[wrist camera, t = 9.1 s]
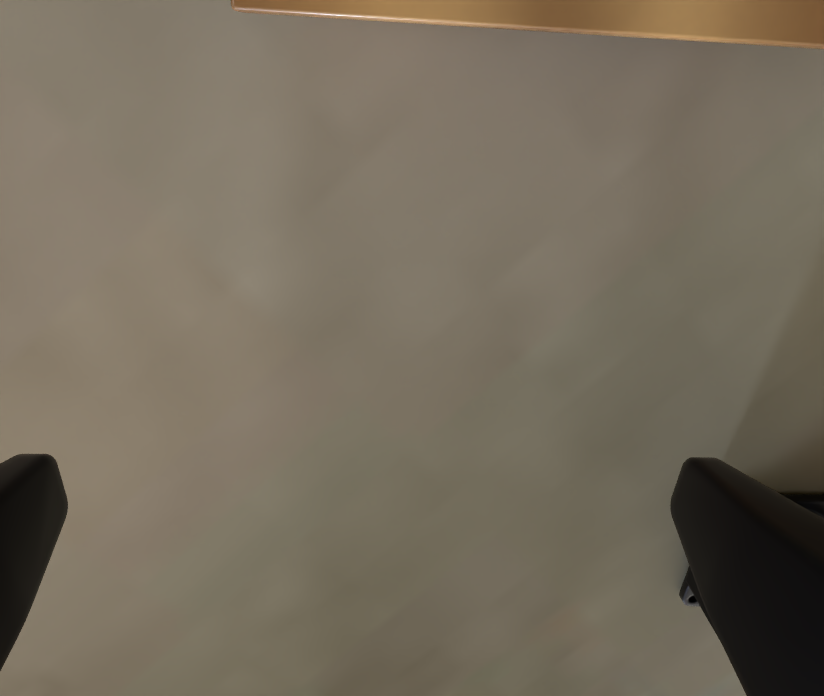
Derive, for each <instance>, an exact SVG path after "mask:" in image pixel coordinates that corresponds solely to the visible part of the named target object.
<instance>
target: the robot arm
mask: <svg viewBox="0 0 824 696" xmlns="http://www.w3.org/2000/svg"><path fill="white" fill-rule="evenodd" d="M67 509H68V501H67V496H66V493H65V489H64V486H63V482H62V479H61V475H60V472H59V468H58V465H57V462H56V460H55V459H54V458H53V457H52V456H51V455H48V454H19V455H16V456H14V457H12V458H10V459H8V460H6V461H4V462H3V463H1V464H0V671H1V669H2V667H3V665H4V663H5V661H6V659H7V657H8V655H9V653H10V651H11V649H12V647H13V645H14V643H15V641H16V639H17V637H18V635H19V633H20V631H21V629H22V627H23V625H24V623H25V621H26V618H27V616H28V614H29V611H30V609H31V606H32V604H33V601H34V599H35V596H36V594H37V591H38V589H39V586H40V583H41V581H42V578H43V576H44V573H45V570H46V568H47V565H48V563H49V560H50V557H51V555H52V552H53V550H54V547H55V544H56V542H57V539H58V537H59V534H60V532H61V529H62V526H63V524H64V521H65V518H66V515H67ZM671 514H672V518H673V521H674V523H675V526H676V529H677V532H678V534H679V537H680V540H681V543H682V546H683V548H684V551H685V554H686V557H687V559H688V562H689V565H690V566H689V569H688V571H687V574H686V576H685V579H684V582H683V584H682V587H681V590H680V593H679V595H680V597H681V599H682V601H683V602H684V604H685V605H687V606H700V607H701V608H702V610H703V612H704V614H705V615H706V617H707V619H708V621H709V622H710V624H711V626H712V627H713V629H714V631H715V633H716V634H717V636H718V638H719V640H720V641H721V643H722V645H723V647H724V649H725V651H726V653H727V655H728V658H729V660H730V662H731V664H732V666H733V668H734V670H735V672H736V674H737V676H738V678H739V680H740V683H741V685H742V687H743V689H744V691H745V693H746V695H747V696H824V495H781V494H779V493H777V492H776V491H774V490H772V489H770V488H769V487H767V486H765V485H763V484H761V483H760V482H758V481H756V480H754V479H753V478H751V477H749V476H747V475H746V474H744V473H742V472H740V471H739V470H737V469H735V468H733V467H731V466H730V465H728V464H726V463H724V462H723V461H721V460H719V459H716V458H700V457H692V458H689V459H687V460H686V461H685V462H684V463H683V466H682V468H681V471H680V474H679V477H678V480H677V483H676V486H675V489H674V492H673V495H672V498H671Z"/></svg>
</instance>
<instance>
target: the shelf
mask: <svg viewBox="0 0 824 696" xmlns="http://www.w3.org/2000/svg"><path fill="white" fill-rule="evenodd" d="M231 6H232V8H233V9H234V10H236V11H240V12H244V13H259V14H275V15H291V16H307V17H323V18H339V19H354V20H370V21H386V22H402V23H418V24H434V25H449V26H465V27H481V28H497V29H513V30H529V31H545V32H560V33H576V34H592V35H608V36H624V37H640V38H656V39H671V40H687V41H703V42H719V43H735V44H751V45H766V46H782V47H798V48H814V49H824V0H231Z"/></svg>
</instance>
